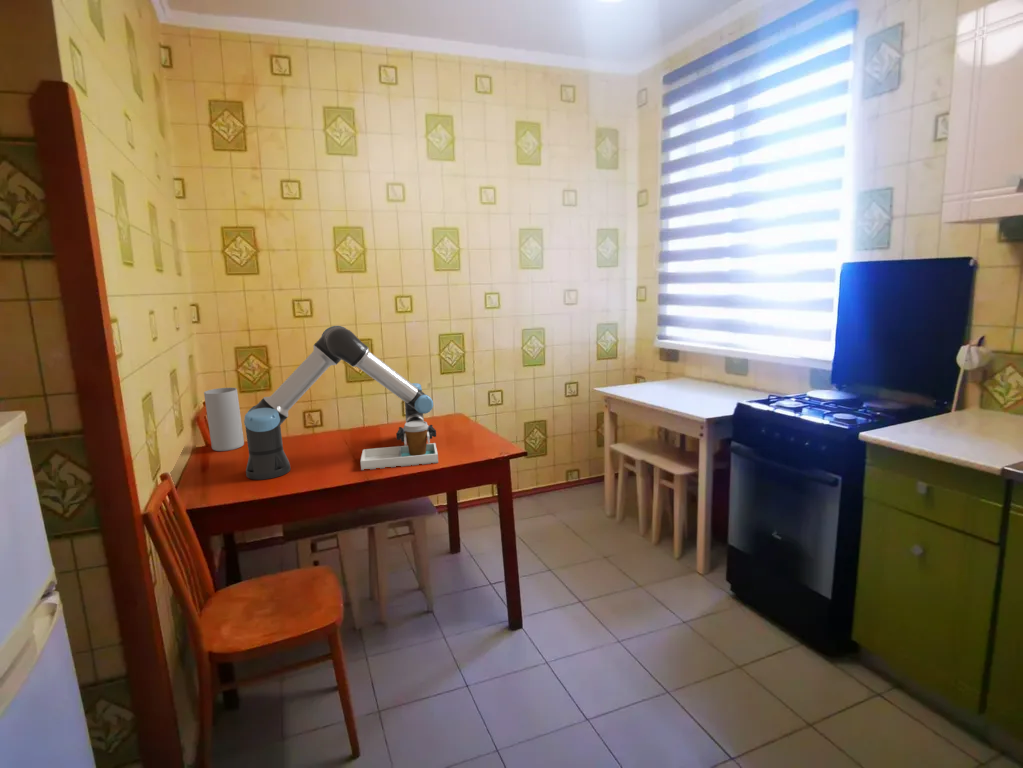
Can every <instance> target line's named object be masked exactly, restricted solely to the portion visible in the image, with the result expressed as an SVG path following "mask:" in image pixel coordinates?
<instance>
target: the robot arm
mask: <svg viewBox="0 0 1023 768" xmlns="http://www.w3.org/2000/svg"><path fill="white" fill-rule="evenodd" d="M312 347H313V351H312V352H311V353H310V354H309V355H308V356H307V357H306V359H304V361H303V362H301V363H300V365H298V367H297V368H295V370H294V371H293V372H292V373H291V374H290V375H289V376H288V377H287V379H286V380H285V381H284V382H283V383H281V385H280V386H279V387H278V388H277V389H276V390H275V391H274V392H273V393H272V394H271V395H270V396H264V397H263V398H262V399H261V400H260V401H259V402H258V403H257V404H256V405H254V406H252V407H251V408H249V410H248V411H247V412H246V413H245V415H244V420H243V423H244V426H245V432H246V440H247V442H246V443H247V448H248V458H247V459H248V460H247V464H246V469H245V474H246V475H245V476H246V477H247V478H248V479H250V480H257V481H258V480H260V481H261V480H269V479H275V478H278V477H281V476H284V475H285V474H288V473H289V472H291V464H290V461H289V458H288V456H287V454H286V453H285V451H284V446H283V445H284V444H283V438H282V437H283V435H282V427H281V425H282V424H283V423H284V422H285V421H286V420H287V418H289V411H290V409H292V407H293V406H294V405H295V404H296V403H297V402H298V401H299V400H300V399H301V398H302V396H304V395H305V394H306V392H307V391H308V390H309V389H310V388H311V387H312V386H313V385H314V384H315V383H316V382H317V381H318V380H319V379H320V378H321V377H322V375H323V374H324V373H325V372H326V371H327V370H329V369H328V368H330V367H331V366H337V365H338V364H339V363H340V362H341V361H343V362H345V363H346V364H348V365H350V366H351V367H353V368H354V367H357V368H358V369H360V370H361V371H362V372H364V373H365V374H366V375H368V376H369V377H370V378H372V379H373V380H375V381H376V382H377V383H379V385H381V386H383V387H384V388H385V389H386V390H388V391H389V392H391V393H392V394H393V395H395V396H396V397H398V398H399V399H400V400H402V401H403V402H404V408H405V410H404V411H405V413H404V414H405V423H407V422H411V421H424V420H425V419H424V415H425V414H428V413H430V412H431V411H432V410H433V408H434V401H433V399H432V397H430V396H429V395H428V394H426V393H424V391H423V389H422V385H421V384H420V383H415V382H414V383H412V382H411V381H409V380H407V378H405V377H404V376H402V375H401V374H400V373H398V372H397V371H395V369H394V368H392V367H391V366H390V365H388V364H387V363H385V361H382V360H381V359H380V358H379V357H377V356H376V355H375V354H373V353H372V352H371V351H370V348H369V347H368V346H367V345H366V344H365V343H363V341H361V340H360V339H359V338H358V337H357V336H356V335H355V334H354V332H353V331H352V330H350V329H347V328H346V327H344V326H341V325H333V326H329V327H328V328H326V329H325V330H324V331H323V333H322V334H321V337H320V338H319V339H318V340H317V341H316V342H315V343H314V344H313V346H312ZM433 437H434V438H436V437H437V429H435V428H434V425H433V424H430V425H428V429H427V444H431V440H432V439H433ZM399 440H400V441H401V443H404V446H408V443H407V438H406V433H405V430H404V427H402V426H399V427H398V430H397V432H396V441H399Z"/></svg>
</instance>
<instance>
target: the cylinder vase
mask: <svg viewBox="0 0 1023 768" xmlns="http://www.w3.org/2000/svg"><path fill="white" fill-rule="evenodd" d="M238 394H239V393H238V389H237V387H219V388H211V389H208V390H205V391H204V392H203V396H204V402H205V410H206V416H207V423H208V430H209V438H210V444H211V449H212V450H213V451H217V452H227V451H233V450H237V449H239V448H242V447H243V446H245V441H244V440H245V439H244V438H245V437H244V433H243V425H242V416H241V410H240V409H241V408H240V403H239V395H238Z"/></svg>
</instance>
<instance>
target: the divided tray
mask: <svg viewBox="0 0 1023 768" xmlns="http://www.w3.org/2000/svg"><path fill="white" fill-rule="evenodd" d="M438 453H439V452H438V449H437V443H436V442H433V443H431V442H430V443H426V454H424V455H416V456H412V455H410V453H409V448H408V445H397V446H388V447H375V448H366V449H365V448H364V449H362V453H361V456H360V462H359V463H360V471H365V470H364V469H370V470H377V469H376V468H380V469H386V468H385V467H391V468H397V467H396V466H401V467H409V466H410V467H411V465H412V466H420V465H419V464H422V465H430V464H431V463H433V464H438V463H439V454H438ZM431 465H432V464H431Z"/></svg>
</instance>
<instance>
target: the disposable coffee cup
mask: <svg viewBox="0 0 1023 768" xmlns="http://www.w3.org/2000/svg"><path fill="white" fill-rule="evenodd" d="M428 426H429V425H428V422H427V421H411V422H407V423H406V422H405V423H404V425H403V429H404V430H405V433H406V443H407V446H408V448H409V453H410V455H412V456H416V455H424V454H426V444H428V441H427V429H428Z"/></svg>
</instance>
